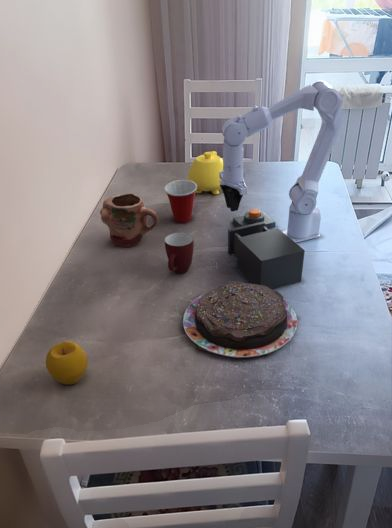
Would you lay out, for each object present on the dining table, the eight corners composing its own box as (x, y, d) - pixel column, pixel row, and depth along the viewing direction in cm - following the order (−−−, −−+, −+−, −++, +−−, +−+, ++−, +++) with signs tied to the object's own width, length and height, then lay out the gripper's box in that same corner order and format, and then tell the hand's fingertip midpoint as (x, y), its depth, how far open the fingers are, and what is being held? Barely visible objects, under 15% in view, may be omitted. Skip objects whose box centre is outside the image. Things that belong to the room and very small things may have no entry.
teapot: (195, 175, 196) (194, 141, 187) (233, 177, 193) (234, 143, 184) (184, 195, 180) (182, 159, 172) (225, 198, 177) (225, 161, 169)
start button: (256, 212, 160) (256, 207, 159) (261, 217, 157) (262, 212, 156) (246, 214, 159) (247, 210, 158) (251, 219, 156) (252, 214, 155)
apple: (55, 365, 108) (46, 335, 103) (93, 363, 108) (86, 333, 103) (47, 393, 101) (38, 362, 96) (88, 391, 102) (80, 360, 96)
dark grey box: (221, 247, 147) (221, 223, 142) (255, 239, 150) (256, 215, 145) (247, 274, 134) (248, 249, 129) (283, 264, 137) (285, 239, 133)
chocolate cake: (164, 346, 112) (162, 324, 108) (204, 283, 133) (204, 262, 129) (283, 372, 104) (286, 349, 100) (306, 301, 125) (309, 279, 121)
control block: (261, 215, 165) (262, 206, 163) (275, 226, 158) (275, 216, 156) (233, 222, 162) (233, 212, 159) (245, 233, 155) (245, 223, 153)
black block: (236, 268, 139) (237, 237, 133) (275, 258, 142) (277, 228, 136) (259, 292, 128) (261, 261, 122) (301, 281, 132) (304, 250, 126)
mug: (187, 284, 133) (186, 252, 127) (160, 280, 135) (157, 249, 129) (198, 264, 141) (197, 233, 135) (172, 261, 143) (169, 231, 137)
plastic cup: (161, 224, 162) (158, 190, 155) (174, 210, 170) (172, 178, 163) (191, 229, 159) (189, 194, 152) (203, 215, 167) (202, 181, 159)
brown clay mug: (168, 235, 156) (165, 195, 147) (154, 254, 146) (150, 211, 138) (111, 229, 161) (105, 189, 152) (95, 246, 151) (87, 205, 143)
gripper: (209, 159, 142) (210, 202, 150) (231, 175, 131) (231, 221, 139) (231, 155, 144) (231, 198, 152) (254, 171, 133) (252, 216, 141)
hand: (232, 208), depth 146 cm, fingers closed
